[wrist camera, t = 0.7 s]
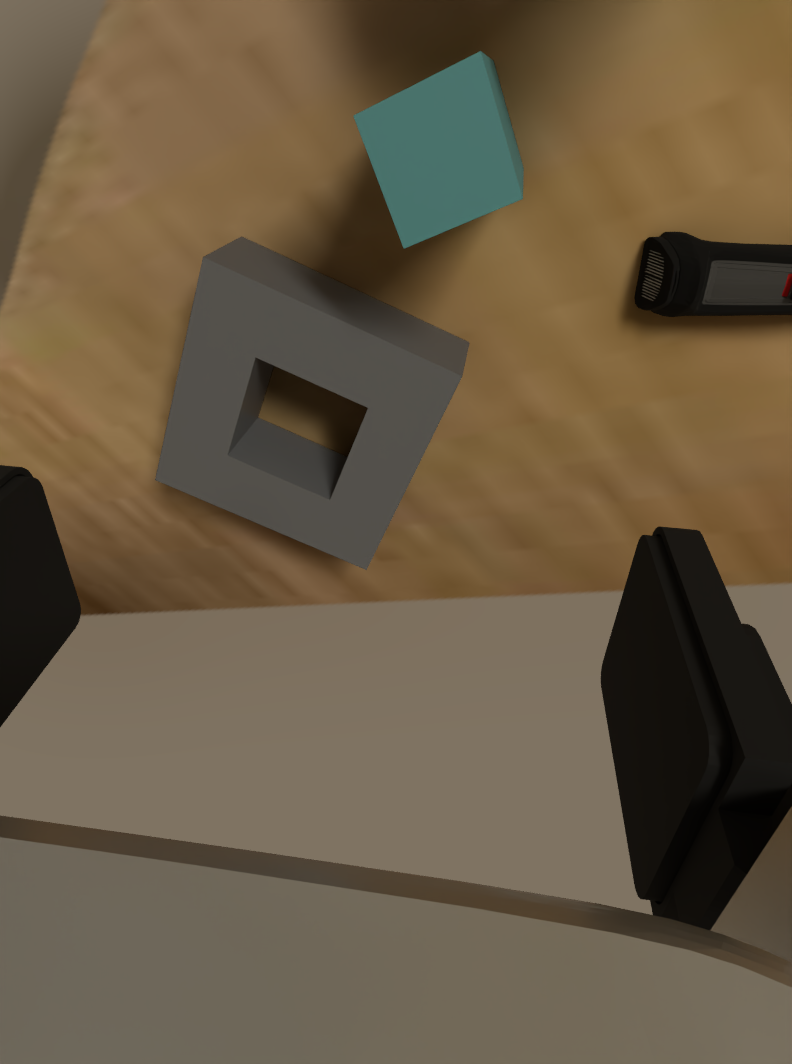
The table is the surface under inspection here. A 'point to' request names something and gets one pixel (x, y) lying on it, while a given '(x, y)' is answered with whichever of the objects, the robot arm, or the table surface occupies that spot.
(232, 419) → the socket
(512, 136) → the peg
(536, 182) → the table surface
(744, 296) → the electric trimmer
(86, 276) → the table surface
